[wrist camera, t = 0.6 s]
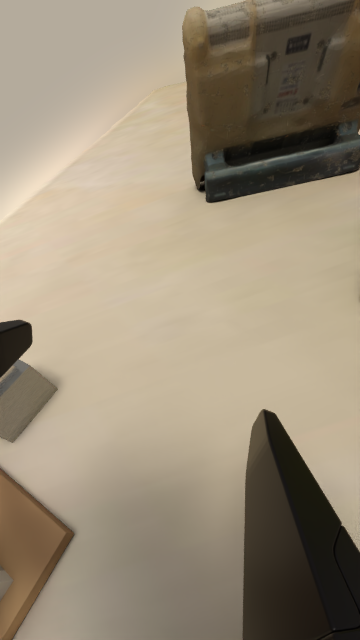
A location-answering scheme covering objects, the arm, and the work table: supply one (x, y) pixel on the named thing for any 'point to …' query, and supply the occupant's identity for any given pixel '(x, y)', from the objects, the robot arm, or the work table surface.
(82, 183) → the work table surface
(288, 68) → the tablet
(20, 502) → the wooden tray
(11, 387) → the stepped grey block
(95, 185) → the work table surface
